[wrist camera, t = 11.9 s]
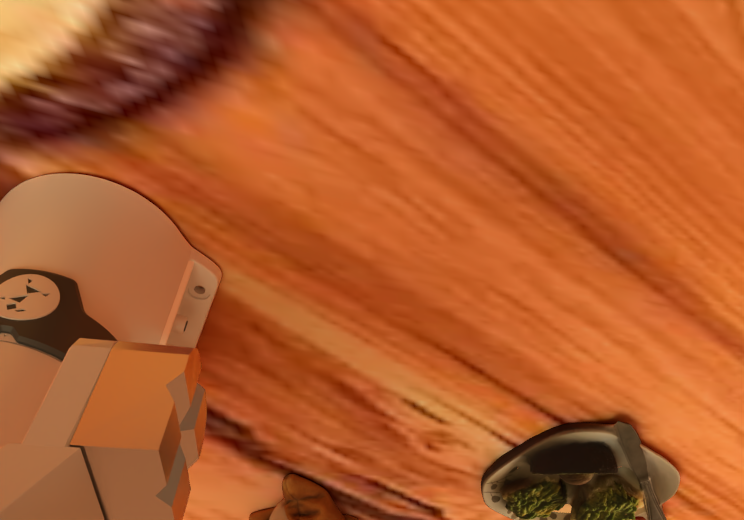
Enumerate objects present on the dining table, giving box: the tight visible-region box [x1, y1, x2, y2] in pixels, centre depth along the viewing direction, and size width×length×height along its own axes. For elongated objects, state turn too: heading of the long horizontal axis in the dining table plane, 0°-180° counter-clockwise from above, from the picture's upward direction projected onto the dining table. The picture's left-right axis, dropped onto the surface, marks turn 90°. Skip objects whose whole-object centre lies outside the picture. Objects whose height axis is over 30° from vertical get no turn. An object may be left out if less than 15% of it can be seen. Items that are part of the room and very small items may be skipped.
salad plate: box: [481, 421, 680, 520], centre depth 68 cm, size 19×18×5 cm
